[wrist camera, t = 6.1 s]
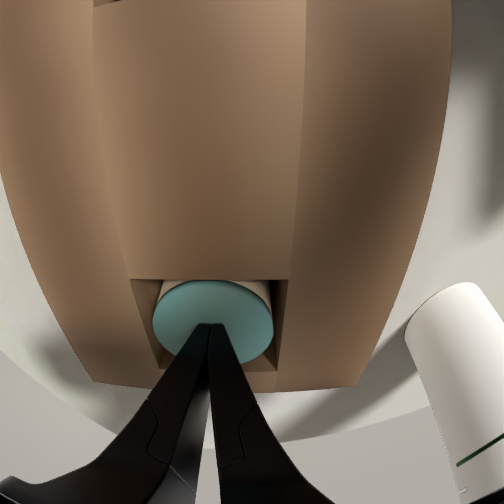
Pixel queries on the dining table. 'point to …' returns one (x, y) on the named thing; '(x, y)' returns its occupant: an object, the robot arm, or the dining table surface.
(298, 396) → the dining table surface
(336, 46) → the socket block
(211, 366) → the robot arm
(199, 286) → the peg
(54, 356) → the dining table surface
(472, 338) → the cylindrical container
